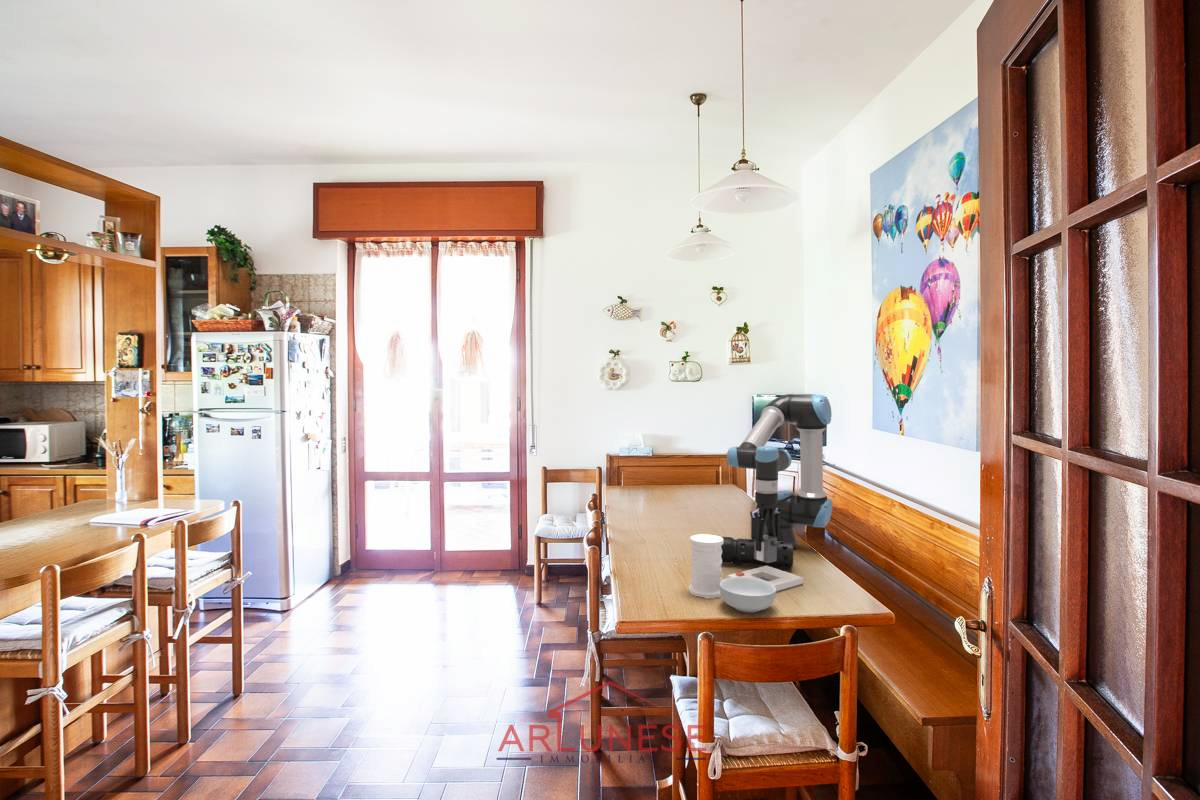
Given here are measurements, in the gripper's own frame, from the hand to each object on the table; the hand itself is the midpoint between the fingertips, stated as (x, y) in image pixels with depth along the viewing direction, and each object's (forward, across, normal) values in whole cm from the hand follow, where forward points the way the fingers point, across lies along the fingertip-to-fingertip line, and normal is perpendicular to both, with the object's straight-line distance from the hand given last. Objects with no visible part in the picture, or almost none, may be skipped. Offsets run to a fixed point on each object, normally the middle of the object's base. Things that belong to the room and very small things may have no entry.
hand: (765, 558), depth 208 cm
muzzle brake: (+9, +12, +16) cm, 22 cm away
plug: (0, 0, -1) cm, 1 cm away
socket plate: (+9, 0, 0) cm, 9 cm away
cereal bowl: (+9, -22, -12) cm, 26 cm away
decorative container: (+9, -23, +5) cm, 25 cm away
